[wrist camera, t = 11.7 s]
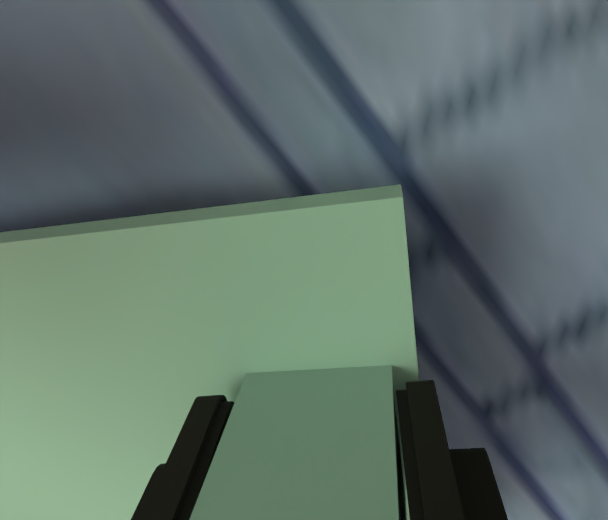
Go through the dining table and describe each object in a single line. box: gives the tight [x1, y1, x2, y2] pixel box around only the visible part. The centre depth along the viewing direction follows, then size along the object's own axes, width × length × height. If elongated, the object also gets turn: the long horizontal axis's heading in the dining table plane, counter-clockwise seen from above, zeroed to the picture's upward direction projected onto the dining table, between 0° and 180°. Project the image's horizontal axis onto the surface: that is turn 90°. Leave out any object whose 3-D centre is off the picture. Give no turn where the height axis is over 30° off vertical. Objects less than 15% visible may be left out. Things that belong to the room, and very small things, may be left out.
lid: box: [0, 184, 419, 520], centre depth 10 cm, size 10×14×7 cm
